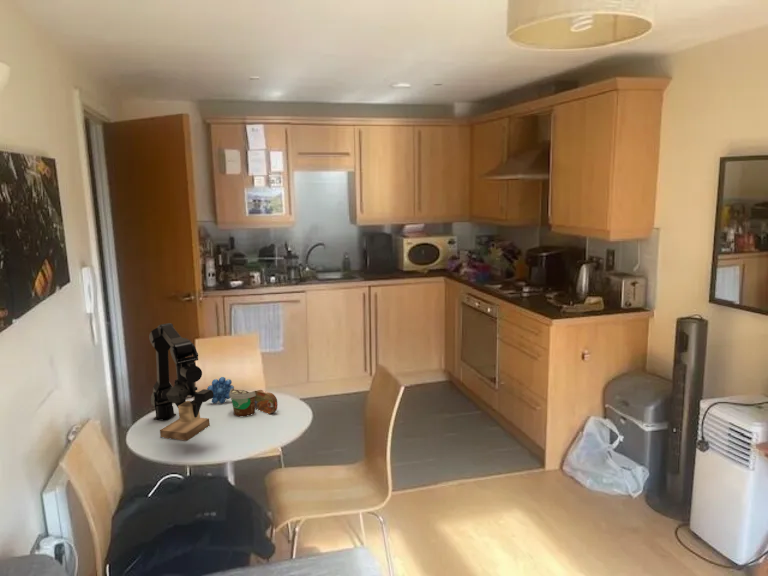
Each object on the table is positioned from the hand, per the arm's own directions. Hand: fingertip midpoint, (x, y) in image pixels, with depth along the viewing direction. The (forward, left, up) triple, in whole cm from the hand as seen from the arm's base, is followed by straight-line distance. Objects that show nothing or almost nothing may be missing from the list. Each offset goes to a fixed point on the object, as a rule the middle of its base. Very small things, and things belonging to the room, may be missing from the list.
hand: (189, 416), depth 210 cm
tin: (+10, +35, -11) cm, 38 cm away
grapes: (-14, +39, -11) cm, 43 cm away
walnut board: (-10, +9, -11) cm, 17 cm away
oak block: (0, 0, -1) cm, 1 cm away
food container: (+2, +29, -11) cm, 31 cm away
